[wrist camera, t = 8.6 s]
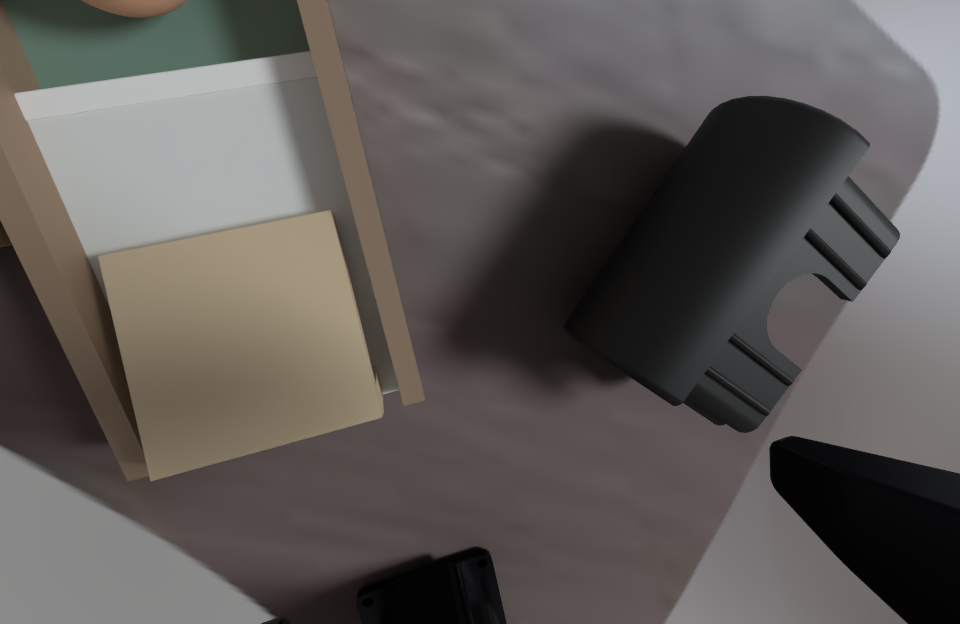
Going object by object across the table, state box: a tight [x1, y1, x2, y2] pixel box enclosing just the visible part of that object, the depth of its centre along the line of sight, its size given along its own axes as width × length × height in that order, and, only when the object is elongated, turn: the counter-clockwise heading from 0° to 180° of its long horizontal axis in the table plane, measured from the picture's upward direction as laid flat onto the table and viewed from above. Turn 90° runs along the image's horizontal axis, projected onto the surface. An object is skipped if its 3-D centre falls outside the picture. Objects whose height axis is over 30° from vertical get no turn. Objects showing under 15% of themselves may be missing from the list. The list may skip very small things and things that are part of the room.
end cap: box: [564, 96, 900, 433], centre depth 17 cm, size 10×7×7 cm
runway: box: [0, 0, 425, 482], centre depth 13 cm, size 19×10×5 cm, turn 11°
